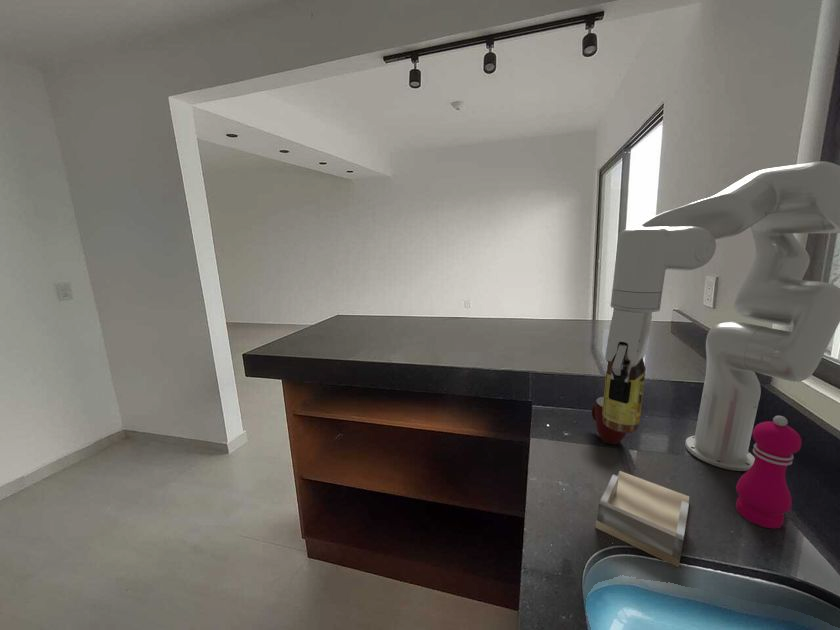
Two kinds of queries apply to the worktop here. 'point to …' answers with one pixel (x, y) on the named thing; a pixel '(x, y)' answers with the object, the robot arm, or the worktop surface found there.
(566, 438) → the worktop surface
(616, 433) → the mug
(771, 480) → the pepper mill
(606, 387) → the sauce bottle
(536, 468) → the worktop surface
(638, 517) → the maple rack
